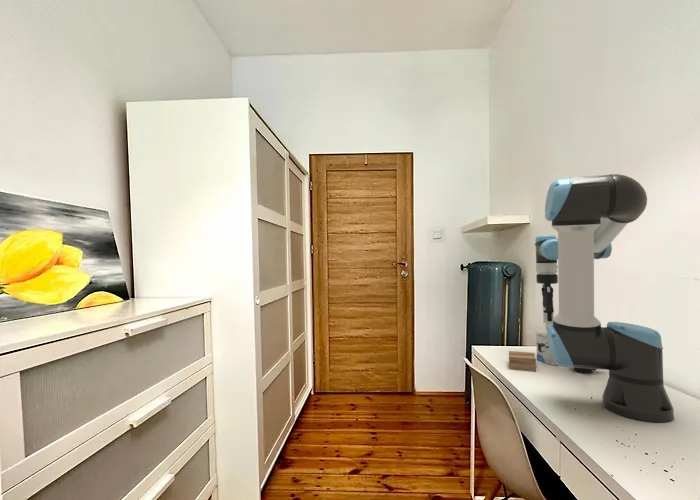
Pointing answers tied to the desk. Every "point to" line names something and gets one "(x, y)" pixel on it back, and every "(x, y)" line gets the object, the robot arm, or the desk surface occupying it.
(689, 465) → the desk surface
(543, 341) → the ink box
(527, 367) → the base block
